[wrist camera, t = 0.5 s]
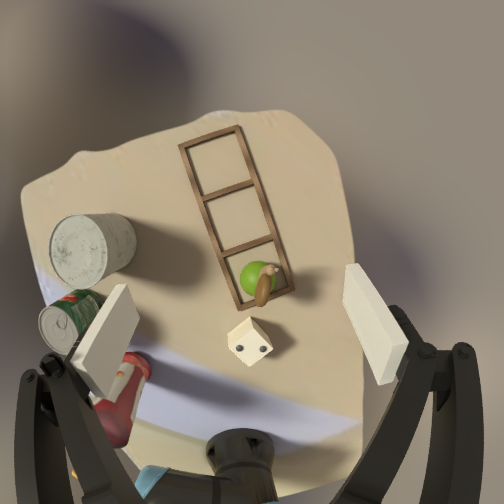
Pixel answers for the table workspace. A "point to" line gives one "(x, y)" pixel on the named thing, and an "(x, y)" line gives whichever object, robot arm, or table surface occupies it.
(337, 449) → the table surface
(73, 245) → the grey cylinder
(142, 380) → the liquor
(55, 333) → the canned tomato
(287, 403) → the table surface
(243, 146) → the wooden ladder frame
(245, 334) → the die
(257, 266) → the snail figurine
